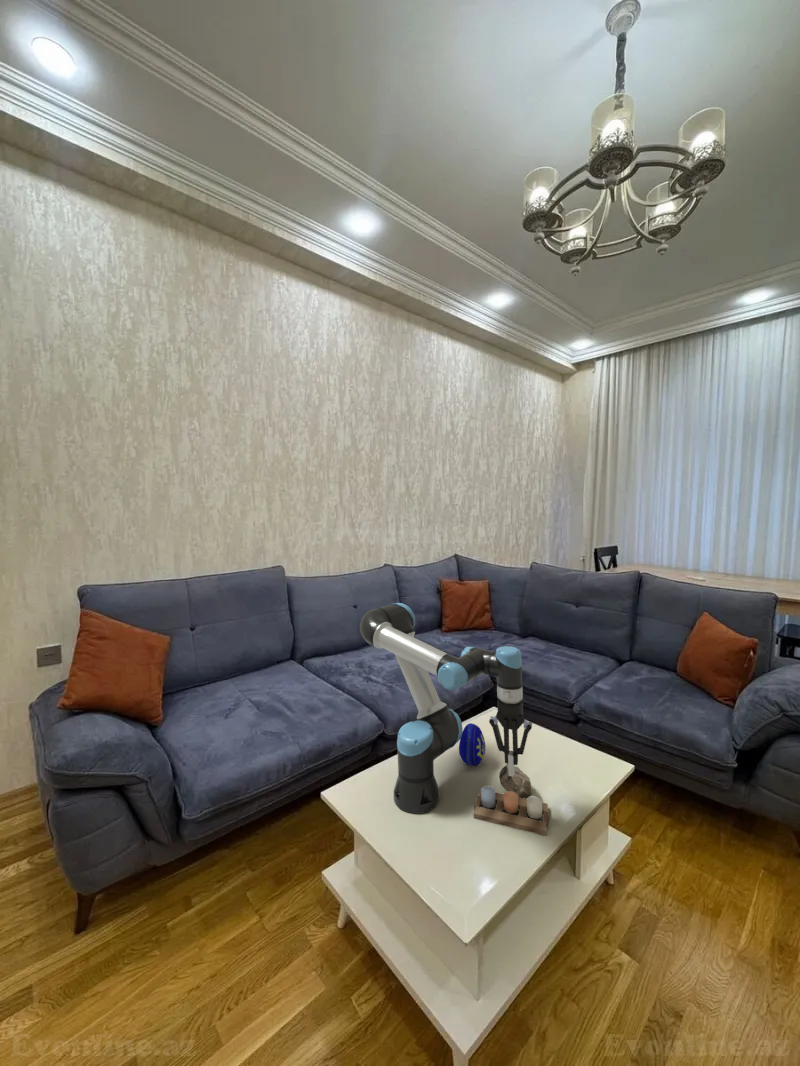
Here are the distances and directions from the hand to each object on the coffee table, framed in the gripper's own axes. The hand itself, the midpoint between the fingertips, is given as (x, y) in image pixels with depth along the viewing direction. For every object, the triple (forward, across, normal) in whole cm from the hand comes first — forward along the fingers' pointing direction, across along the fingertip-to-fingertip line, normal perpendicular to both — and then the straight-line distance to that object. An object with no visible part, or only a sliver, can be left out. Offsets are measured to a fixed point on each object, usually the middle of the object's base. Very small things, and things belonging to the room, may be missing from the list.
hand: (511, 773), depth 132 cm
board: (+13, 0, 0) cm, 13 cm away
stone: (+13, -1, +11) cm, 17 cm away
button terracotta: (+11, 0, 0) cm, 11 cm away
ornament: (+13, -17, +22) cm, 31 cm away
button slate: (+11, -7, 0) cm, 13 cm away
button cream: (+11, +7, 0) cm, 13 cm away
